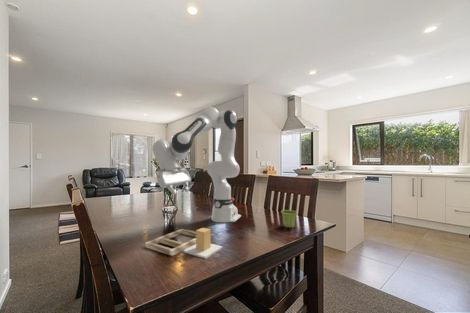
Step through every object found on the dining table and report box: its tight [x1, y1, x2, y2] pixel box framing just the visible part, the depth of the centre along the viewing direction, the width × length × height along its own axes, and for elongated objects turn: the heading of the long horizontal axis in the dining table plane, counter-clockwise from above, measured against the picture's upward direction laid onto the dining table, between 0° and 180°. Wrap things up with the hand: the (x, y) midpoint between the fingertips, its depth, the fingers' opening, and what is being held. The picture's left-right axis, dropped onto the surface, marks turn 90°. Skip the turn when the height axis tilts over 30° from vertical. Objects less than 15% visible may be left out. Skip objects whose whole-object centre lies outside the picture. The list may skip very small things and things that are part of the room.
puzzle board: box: [144, 228, 196, 256], centre depth 101 cm, size 23×17×2 cm
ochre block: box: [195, 227, 212, 251], centre depth 93 cm, size 4×4×8 cm
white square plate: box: [182, 243, 223, 260], centre depth 93 cm, size 12×12×1 cm
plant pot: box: [280, 209, 298, 229], centre depth 127 cm, size 9×9×9 cm
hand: (181, 192), depth 106 cm, fingers open, 8 cm apart
